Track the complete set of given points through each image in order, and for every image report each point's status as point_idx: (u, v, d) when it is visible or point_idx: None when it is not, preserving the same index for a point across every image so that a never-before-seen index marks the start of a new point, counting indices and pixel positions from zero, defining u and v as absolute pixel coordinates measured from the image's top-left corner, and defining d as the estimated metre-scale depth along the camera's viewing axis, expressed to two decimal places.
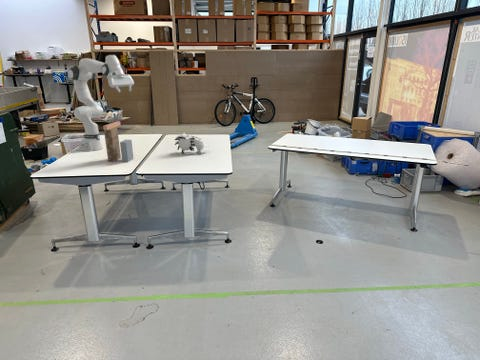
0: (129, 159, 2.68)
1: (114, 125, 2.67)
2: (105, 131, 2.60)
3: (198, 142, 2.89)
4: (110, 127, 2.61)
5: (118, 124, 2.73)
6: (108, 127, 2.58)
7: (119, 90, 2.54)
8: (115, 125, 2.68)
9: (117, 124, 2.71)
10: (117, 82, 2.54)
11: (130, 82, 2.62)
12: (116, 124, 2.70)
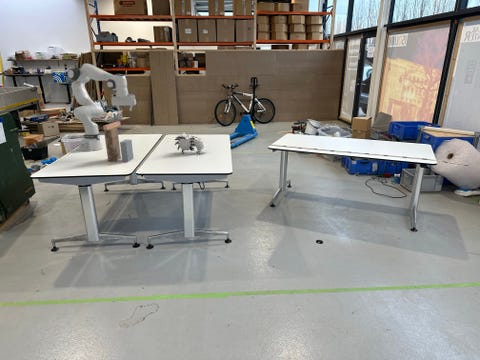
0: (129, 159, 2.68)
1: (114, 125, 2.67)
2: (105, 131, 2.60)
3: (198, 142, 2.89)
4: (110, 127, 2.61)
5: (118, 124, 2.73)
6: (108, 127, 2.58)
7: (118, 110, 2.83)
8: (115, 125, 2.68)
9: (117, 124, 2.71)
10: (117, 103, 2.80)
11: (130, 103, 2.80)
12: (116, 124, 2.70)
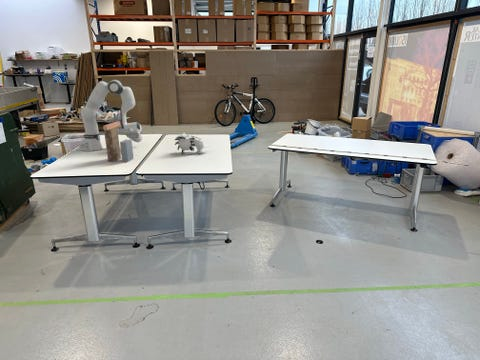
0: (129, 159, 2.68)
1: (114, 125, 2.67)
2: (105, 131, 2.60)
3: (198, 142, 2.89)
4: (110, 127, 2.61)
5: (118, 124, 2.73)
6: (108, 127, 2.58)
7: (130, 130, 2.87)
8: (115, 125, 2.68)
9: (117, 124, 2.71)
10: (132, 133, 2.92)
11: (120, 133, 2.93)
12: (116, 124, 2.70)
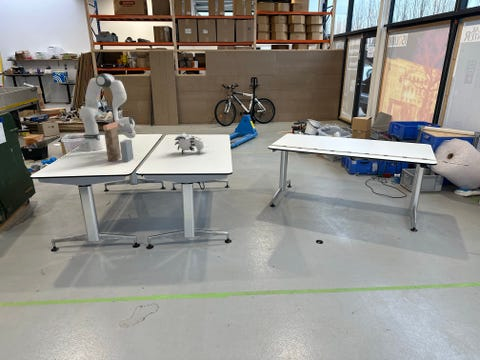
0: (129, 159, 2.68)
1: (114, 125, 2.67)
2: (105, 131, 2.60)
3: (198, 142, 2.89)
4: (110, 127, 2.61)
5: None
6: (108, 127, 2.58)
7: (120, 124, 2.74)
8: (115, 125, 2.68)
9: (117, 124, 2.71)
10: (125, 128, 2.79)
11: None
12: (116, 124, 2.70)
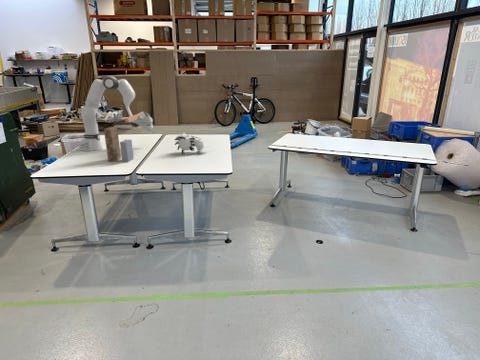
0: (129, 159, 2.68)
1: (134, 118, 2.77)
2: (105, 131, 2.60)
3: (198, 142, 2.89)
4: (131, 119, 2.71)
5: None
6: (129, 119, 2.68)
7: (140, 117, 2.84)
8: (135, 118, 2.79)
9: (137, 117, 2.81)
10: (144, 121, 2.89)
11: None
12: (136, 117, 2.80)
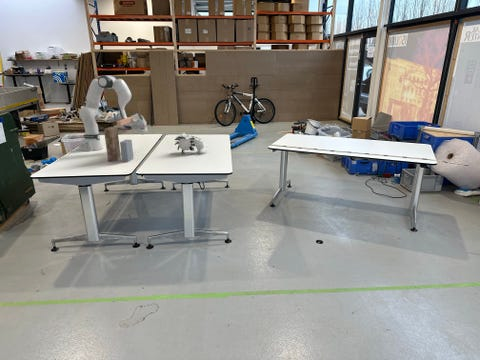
0: (129, 159, 2.68)
1: (127, 121, 2.64)
2: (105, 131, 2.60)
3: (198, 142, 2.89)
4: (123, 123, 2.58)
5: None
6: (122, 123, 2.55)
7: (133, 120, 2.71)
8: (128, 121, 2.66)
9: (130, 120, 2.69)
10: (138, 124, 2.76)
11: None
12: (129, 120, 2.67)
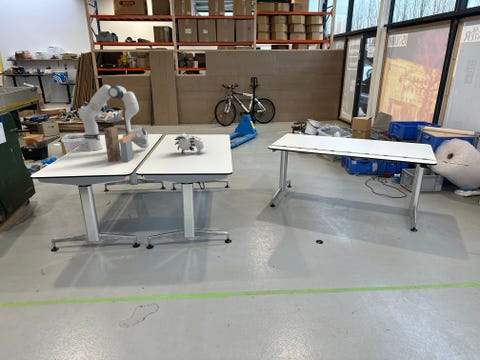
0: (129, 159, 2.68)
1: (129, 138, 2.69)
2: (105, 131, 2.60)
3: (198, 142, 2.89)
4: (125, 140, 2.63)
5: (133, 136, 2.75)
6: (124, 140, 2.60)
7: (137, 136, 2.75)
8: (130, 138, 2.70)
9: (132, 137, 2.73)
10: (139, 139, 2.81)
11: None
12: (131, 137, 2.72)
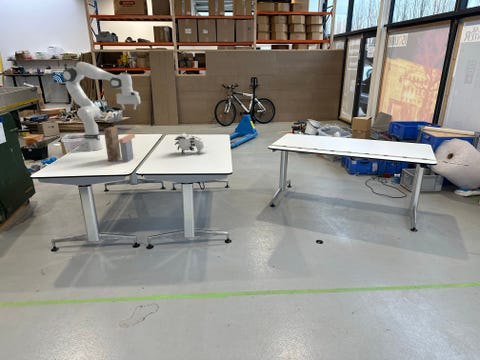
0: (129, 159, 2.68)
1: (129, 138, 2.69)
2: (105, 131, 2.60)
3: (198, 142, 2.89)
4: (125, 140, 2.63)
5: (133, 136, 2.75)
6: (124, 140, 2.60)
7: (135, 108, 2.86)
8: (130, 138, 2.70)
9: (132, 137, 2.73)
10: None
11: None
12: (131, 137, 2.72)
